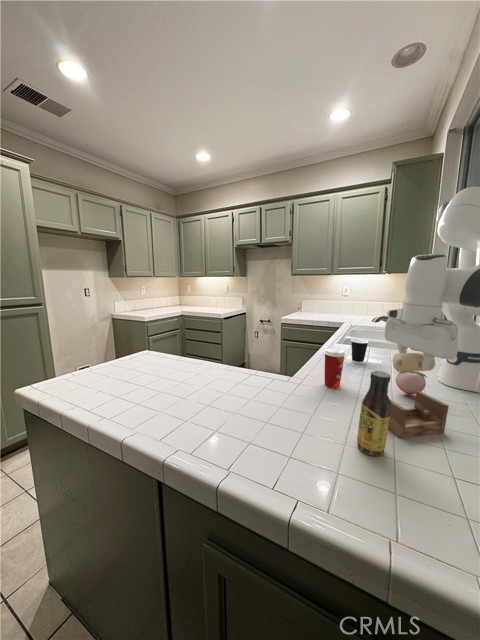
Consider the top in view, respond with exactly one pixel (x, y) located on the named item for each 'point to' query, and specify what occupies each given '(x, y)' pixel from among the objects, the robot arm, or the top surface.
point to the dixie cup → (358, 350)
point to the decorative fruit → (411, 381)
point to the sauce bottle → (375, 415)
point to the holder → (418, 417)
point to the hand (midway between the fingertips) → (413, 364)
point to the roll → (410, 362)
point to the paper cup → (333, 366)
